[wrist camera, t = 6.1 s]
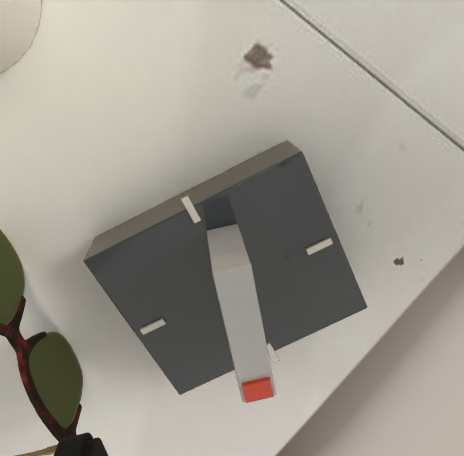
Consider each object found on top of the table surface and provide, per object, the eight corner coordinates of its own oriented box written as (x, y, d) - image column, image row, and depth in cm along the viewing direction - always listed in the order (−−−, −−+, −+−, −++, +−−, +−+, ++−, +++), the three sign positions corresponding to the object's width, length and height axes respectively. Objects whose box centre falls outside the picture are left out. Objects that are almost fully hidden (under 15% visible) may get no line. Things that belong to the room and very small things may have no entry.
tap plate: (283, 129, 23) (298, 140, 20) (351, 289, 27) (372, 317, 24) (88, 228, 24) (74, 252, 21) (184, 368, 28) (184, 404, 25)
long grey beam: (206, 230, 21) (212, 275, 17) (237, 223, 21) (252, 266, 17) (232, 342, 24) (243, 407, 19) (260, 336, 24) (277, 399, 20)
